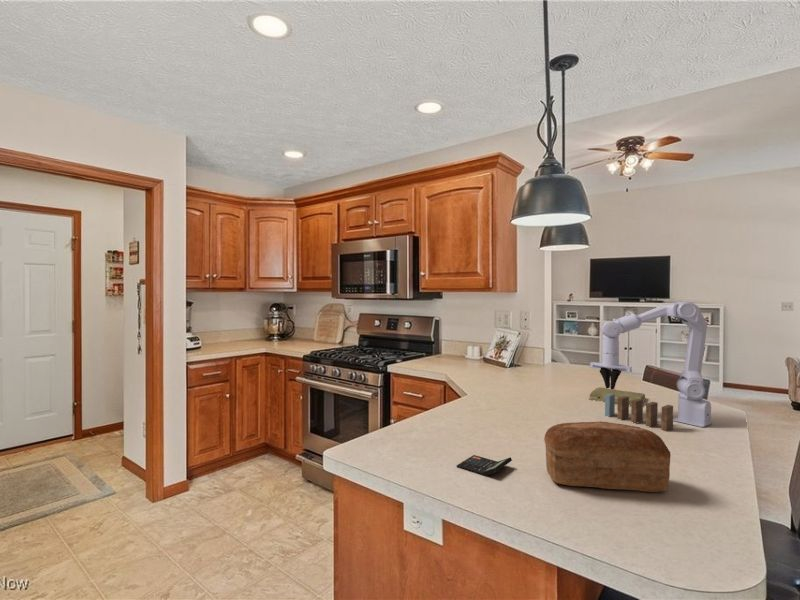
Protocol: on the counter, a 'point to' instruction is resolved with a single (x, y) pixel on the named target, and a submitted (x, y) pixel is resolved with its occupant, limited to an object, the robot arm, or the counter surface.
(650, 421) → the domino
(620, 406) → the domino
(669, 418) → the domino
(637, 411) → the domino
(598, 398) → the decorative tile
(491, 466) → the calculator
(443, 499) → the counter surface
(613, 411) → the domino
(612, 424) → the bread
